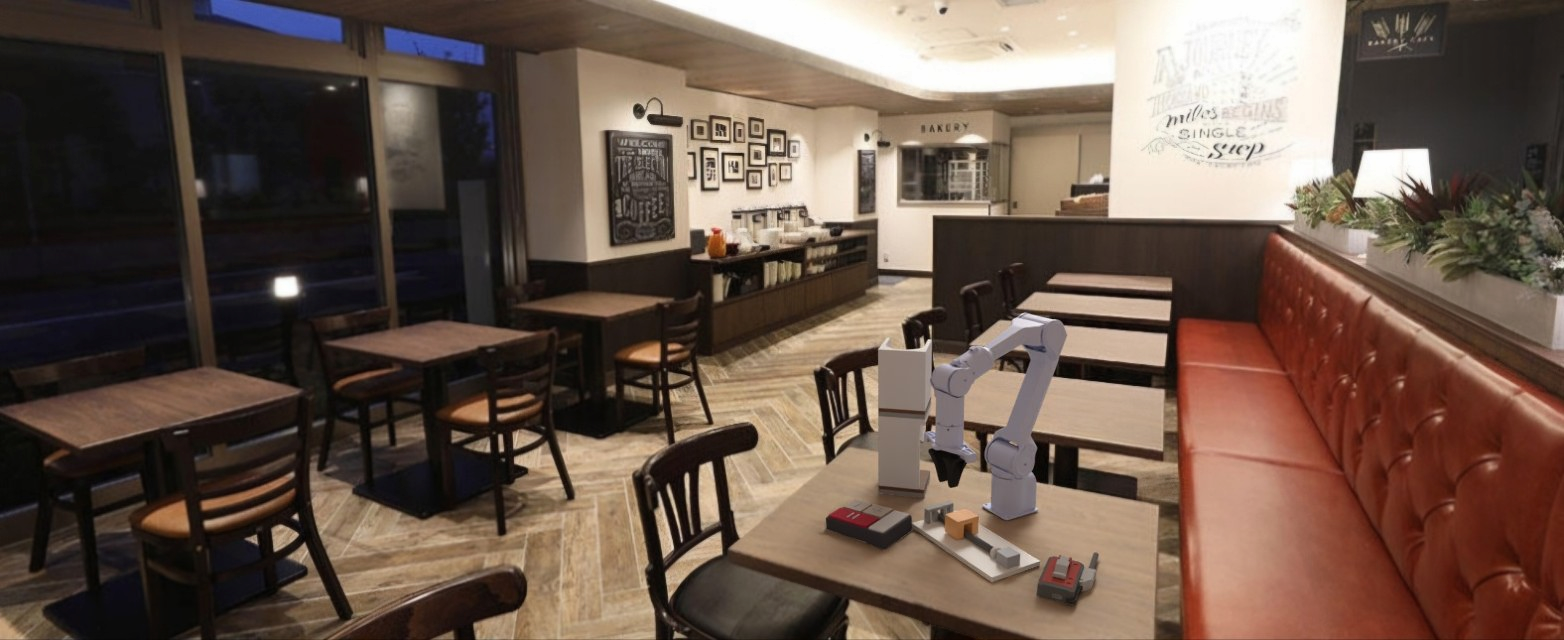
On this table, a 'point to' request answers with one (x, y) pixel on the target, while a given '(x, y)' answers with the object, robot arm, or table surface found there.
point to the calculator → (870, 523)
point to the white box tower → (903, 418)
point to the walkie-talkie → (1066, 579)
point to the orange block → (961, 523)
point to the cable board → (975, 546)
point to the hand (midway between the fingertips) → (948, 483)
